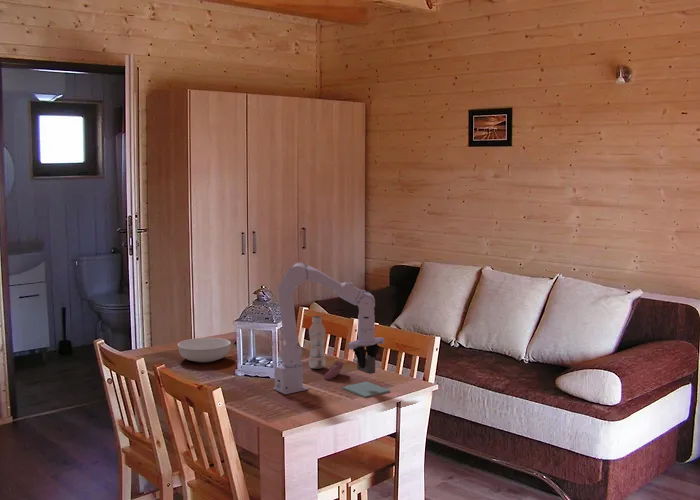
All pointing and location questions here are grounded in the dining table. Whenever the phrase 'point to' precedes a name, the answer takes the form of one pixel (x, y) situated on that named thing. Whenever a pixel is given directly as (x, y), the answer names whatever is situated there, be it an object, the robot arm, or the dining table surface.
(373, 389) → the rubber mat
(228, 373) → the dining table surface
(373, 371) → the connector plug
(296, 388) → the robot arm
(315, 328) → the plastic bottle
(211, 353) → the serving bowl
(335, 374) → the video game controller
